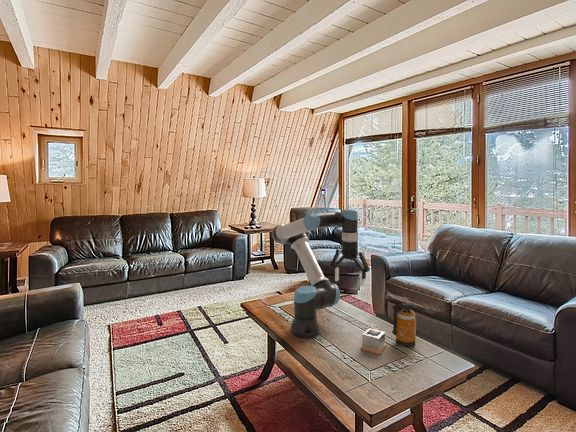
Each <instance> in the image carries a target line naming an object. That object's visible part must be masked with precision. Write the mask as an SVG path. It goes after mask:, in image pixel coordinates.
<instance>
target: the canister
mask: <svg viewBox="0 0 576 432" xmlns="http://www.w3.org/2000/svg"><path fill="white" fill-rule="evenodd" d="M413 309H416V305H414V304H413V303H403V302H401V301H400V302H399V303H396V304H395V305H393V306H392V311H393V313H392V314H393V327H392V328H393V329H392V331H391V332H392V334H393V335H394V336H395V342H396V343H398V344H399V345H401V346H406V347H411V346H414V345H415V344H416V335H417V333H416V332H417V331H416V330H417V318H416V313H415V312H414V310H413Z"/></svg>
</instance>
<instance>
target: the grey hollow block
mask: <svg viewBox="0 0 576 432" xmlns="http://www.w3.org/2000/svg"><path fill="white" fill-rule="evenodd" d="M370 331H377V332H378V336H377V337H376V336H373V335H370ZM385 342H386V332H385V331H382V330H378V329H376V328H375V329H374V328H370V327H369V328H367V329H366V330H365V331H364V332H363V333H362V345H361V346H363V347H367V348H370V349H373V350H377V351H379V350H380V349H381V348H382V347H383V346H384V344H386V343H385Z"/></svg>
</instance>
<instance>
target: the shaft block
mask: <svg viewBox="0 0 576 432" xmlns="http://www.w3.org/2000/svg"><path fill="white" fill-rule="evenodd" d="M370 335H373V336H376V337H377V336H378V332H377V331H370ZM385 348H387V343H385V344H384V346H383V347H382V348H381V349H380V350H379V351H377V350H373V349H370V348H367V347H363V346H362V345H360V349H361V350H363V351H367V352H371V353H374V354H378V355H380V354H381V353H382V352H383V351H384V350H385Z"/></svg>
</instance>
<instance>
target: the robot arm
mask: <svg viewBox="0 0 576 432" xmlns="http://www.w3.org/2000/svg"><path fill="white" fill-rule="evenodd" d="M358 213H359V212H358V210H357V209H355V208H343V209H342V210H341V211H335V210H333V211H332V210H331V211H329V210H328V211H327V212H317V213H315V212H311V213H308V214H306V215H305V216H304V217H302V218H299V219H297V220H294V221H291V222H289V223H285V224H283V223H281V224H278V225H276V226H274V227H273V228H272V229H271V238H272V240H273V241H274V242H275V243H277V244H278V245H287V244H289V247H290V248H291V249H292V250H294V251H295V252H296V255H297V257H298V259H299V261H300V263H301V265H302V268H303V269H304V272H305V274H306V277H307V278H308V280H309V283H310V285H303V286H302V285H301V286H299V287H297V288H296V289H295V291H294V295H293V300H294V301H293V306H294V307H293V308H294V310H293V313H294V314H293V315H294V316H293V317H294V318H293V321H292V324H291V327H290V331H291V334H292V335H293V336H294V337H297V338H301V339H303V338H304V339H309V338H315V337H317V336H319V334H320V333H321V328H320V324H319V321H318V317H317V316H318V315H317V311H319V310H323V309H327V308H331V307H333V306H336V305H338V304H339V301H340V299H341V291H340V289H339V286H338V285H337V284H335V283H332V282H331V281H330V279H329V278H327V277H325V275H324V272H323V270H322V269H321V268H322V267H320V265H319V263H318V260H317V258H316V256H315V254H314V252H313V250H312V248H311V247H310V245H309V241H310V232H311V231H314V230H317V229H326V228H334V227H335V228H336V227H338V228H341V240H342V241H341V248H337V249H335V254H334V256H333V258H332V260H331V262H330V267H331V268H333V275H334V280H335V281H334V282H338V281H339V280H340V268H339V266H340V265H341V263H343V261H344V260H349V261H353V262H354V263H355V264H356V266H357V267H358V269H359V270H360V271H361V272H360V278H359V279H360V281H359V286H360V287H362V286H364V285H365V280H366V279H367V278H366V277H367V273H368V272H370V271H371V270H370V267H369V264H368V262H367V260H366V257H365V253H364V251H358V227H359V225H358V224H359V221H358V220H359V216H358V215H359V214H358ZM340 254H341V255H342V256H341V257H340V258H339V256H340ZM338 258H339V259H338Z"/></svg>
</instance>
